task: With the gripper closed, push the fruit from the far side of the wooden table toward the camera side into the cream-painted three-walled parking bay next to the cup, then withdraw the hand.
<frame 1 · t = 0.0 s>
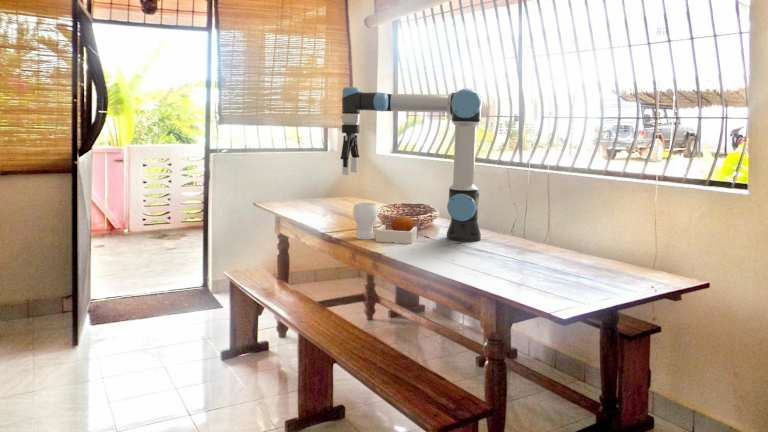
hand: (349, 173, 272), 28 cm above the table, fingers open, 13 cm apart
bay: (397, 239, 274), on the table
cup: (364, 238, 275), on the table
fruit: (402, 234, 287), on the table
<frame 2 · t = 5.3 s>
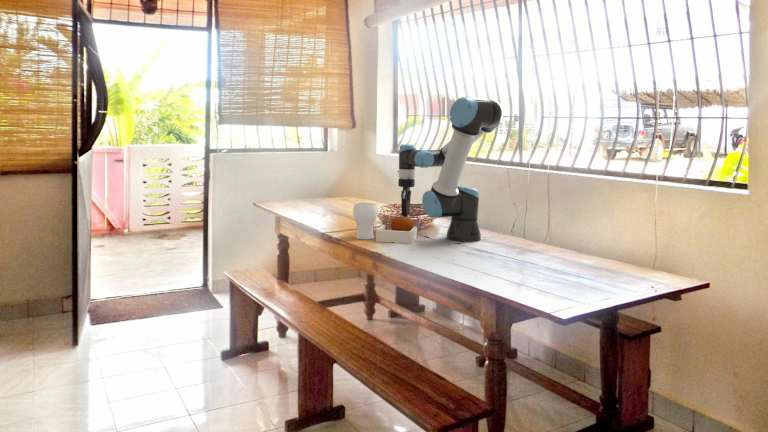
hand: (405, 228, 293), 1 cm above the table, fingers closed
fruit: (402, 234, 287), on the table, touching gripper
everything else where it was.
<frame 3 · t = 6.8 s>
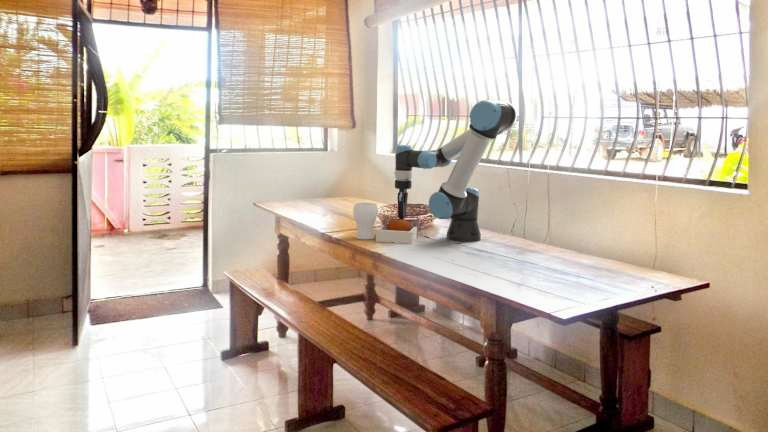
hand: (401, 231, 285), 1 cm above the table, fingers closed
fruit: (398, 237, 278), on the table, touching gripper
everything else where it was.
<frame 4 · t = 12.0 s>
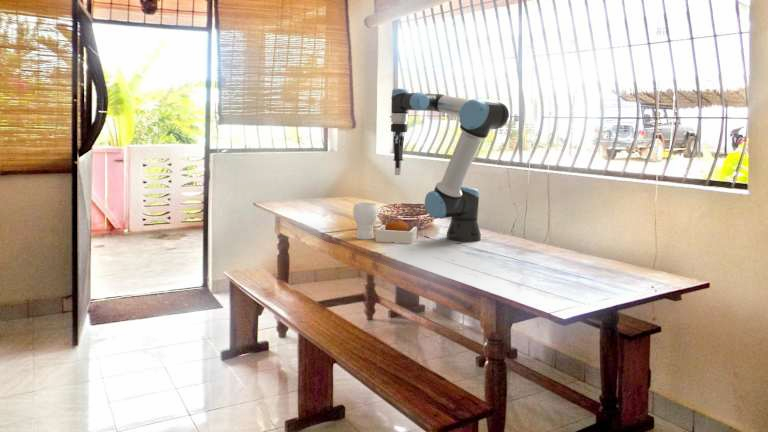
hand: (397, 174, 289), 26 cm above the table, fingers closed
fruit: (396, 239, 274), on the table
everything else where it was.
at the end: fruit inside the target area (0.8 cm from its centre), on the table; fruit moved 13.6 cm from its start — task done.
